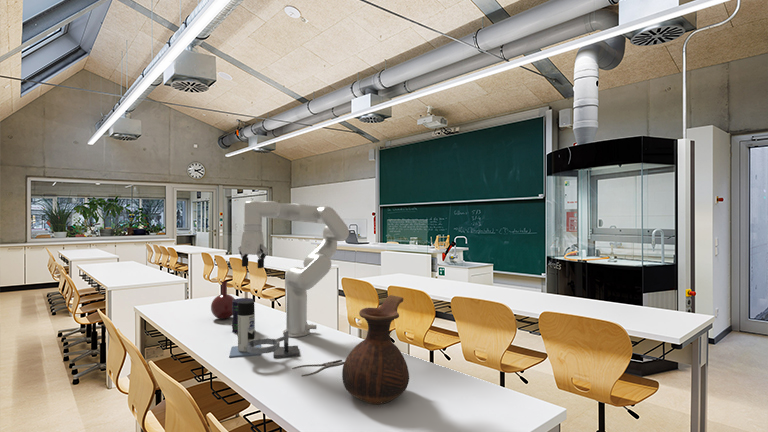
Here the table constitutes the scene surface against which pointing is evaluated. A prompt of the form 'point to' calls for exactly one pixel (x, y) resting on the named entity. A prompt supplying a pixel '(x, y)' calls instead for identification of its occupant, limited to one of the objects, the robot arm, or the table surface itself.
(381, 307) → the jug
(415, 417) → the table surface
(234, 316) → the storage jar
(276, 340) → the ring stand
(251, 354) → the mat
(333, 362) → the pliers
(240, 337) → the spray can
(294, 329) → the robot arm
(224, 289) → the round-bottom flask
